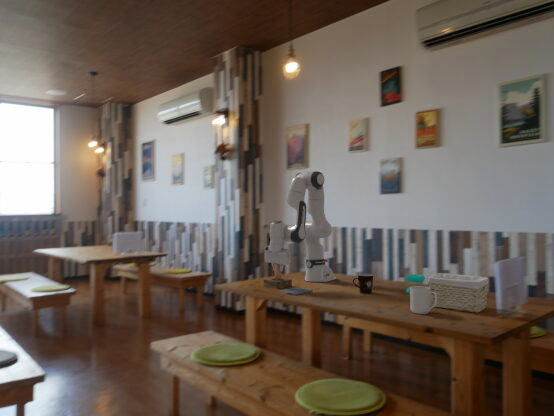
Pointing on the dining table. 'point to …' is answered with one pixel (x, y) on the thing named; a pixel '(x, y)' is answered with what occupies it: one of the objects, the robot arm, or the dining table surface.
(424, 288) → the mug
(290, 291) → the slate mat
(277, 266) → the dowel pin
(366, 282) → the coffee mug
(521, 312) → the dining table surface
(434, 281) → the storage basket
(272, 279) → the holder block
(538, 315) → the dining table surface
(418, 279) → the donuts
